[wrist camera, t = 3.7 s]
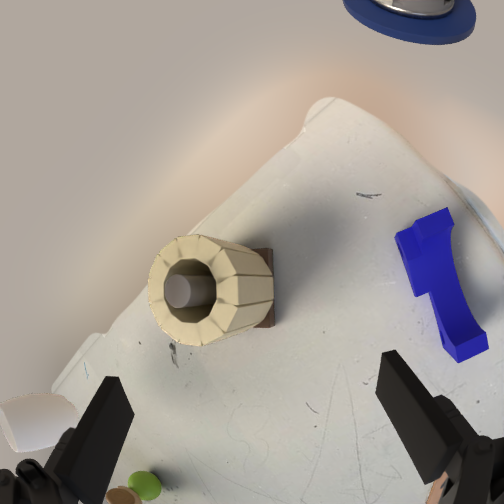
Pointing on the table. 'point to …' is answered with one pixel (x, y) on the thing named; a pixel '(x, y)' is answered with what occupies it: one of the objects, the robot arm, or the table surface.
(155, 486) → the snail figurine
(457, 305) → the cable clip
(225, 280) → the tape roll
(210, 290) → the tape stand
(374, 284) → the table surface
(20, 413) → the cup
